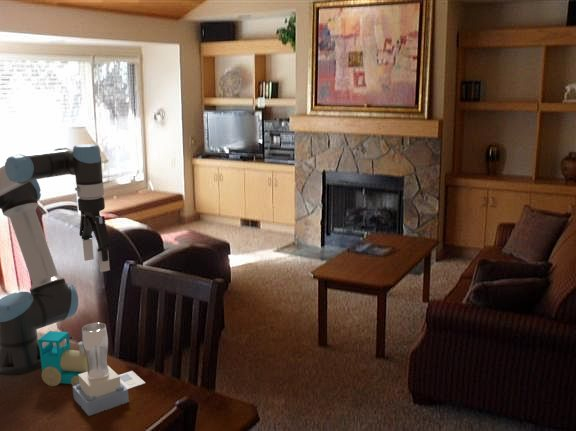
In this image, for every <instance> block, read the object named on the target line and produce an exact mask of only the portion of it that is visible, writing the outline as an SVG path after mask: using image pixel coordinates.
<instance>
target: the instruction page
mask: <svg viewBox="0 0 576 431" xmlns="http://www.w3.org/2000/svg"><path fill="white" fill-rule="evenodd" d="M118 375H119V376H120V382H121V383H122V384H123V385H124V386H125V387H126V388H127V389H128V390H130V389H134V388H137V387H139V386H142V385H145V384H146V382H145V381H144V380H143V379H142V378H141V377H140V376H138V374H136V372H134V371H133V370H130V371H127V372H124V373H121V374H118Z"/></svg>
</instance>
